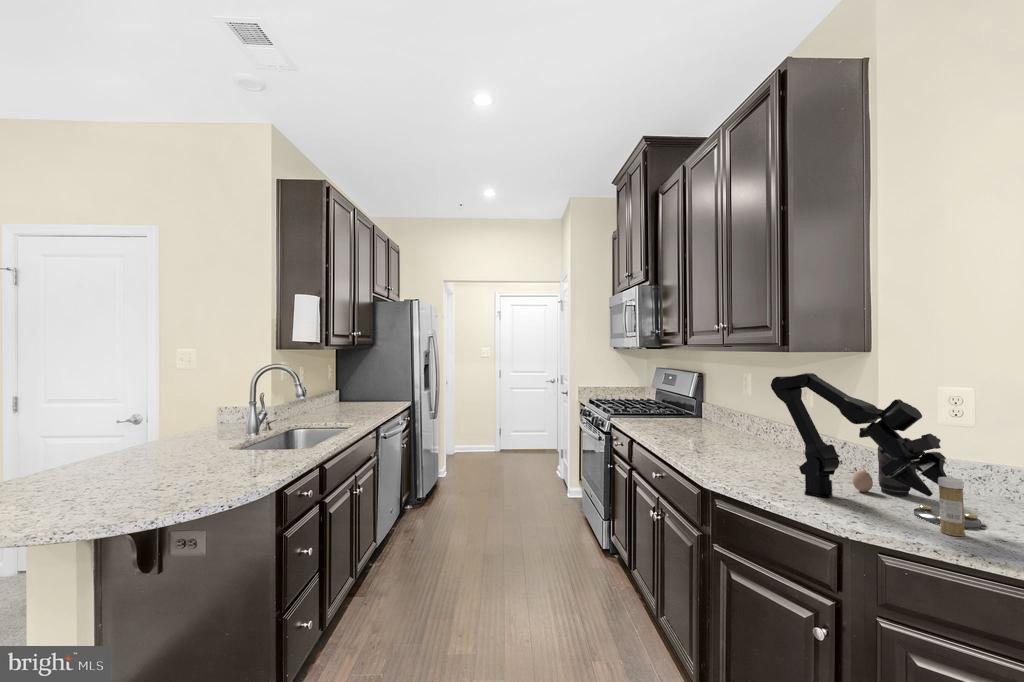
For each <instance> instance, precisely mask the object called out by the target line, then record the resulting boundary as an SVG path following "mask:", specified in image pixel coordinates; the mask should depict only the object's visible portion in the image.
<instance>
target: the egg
mask: <svg viewBox="0 0 1024 682" xmlns="http://www.w3.org/2000/svg"><path fill="white" fill-rule="evenodd" d="M852 484H853V487H854V488H856V490H858V491H859V492H862V493H867V492H869V491H871V489H873V486H874V482H873V478H872V476H871V475H870V473H869V472H867V470H862V469H859V470H857V471H856V472H854V474H853V476H852Z"/></svg>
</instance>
